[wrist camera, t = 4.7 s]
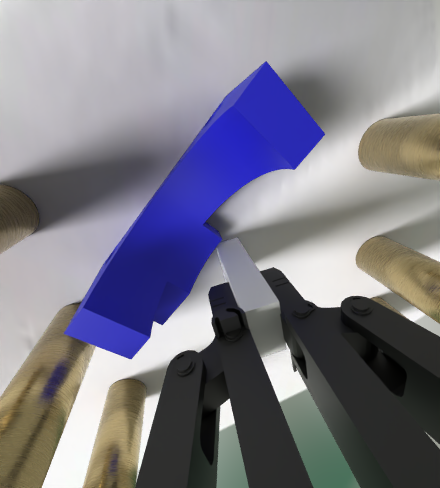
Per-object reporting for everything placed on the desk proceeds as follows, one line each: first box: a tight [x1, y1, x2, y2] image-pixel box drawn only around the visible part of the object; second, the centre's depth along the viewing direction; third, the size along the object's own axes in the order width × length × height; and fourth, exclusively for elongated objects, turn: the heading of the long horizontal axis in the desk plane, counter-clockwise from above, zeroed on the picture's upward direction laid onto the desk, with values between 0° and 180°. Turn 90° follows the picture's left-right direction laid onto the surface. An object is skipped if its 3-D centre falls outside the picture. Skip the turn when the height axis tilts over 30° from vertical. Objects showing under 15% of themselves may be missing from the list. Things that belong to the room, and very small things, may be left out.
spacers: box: [0, 113, 440, 488], centre depth 12 cm, size 19×25×10 cm
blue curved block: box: [64, 61, 325, 359], centre depth 12 cm, size 12×4×6 cm, turn 140°
